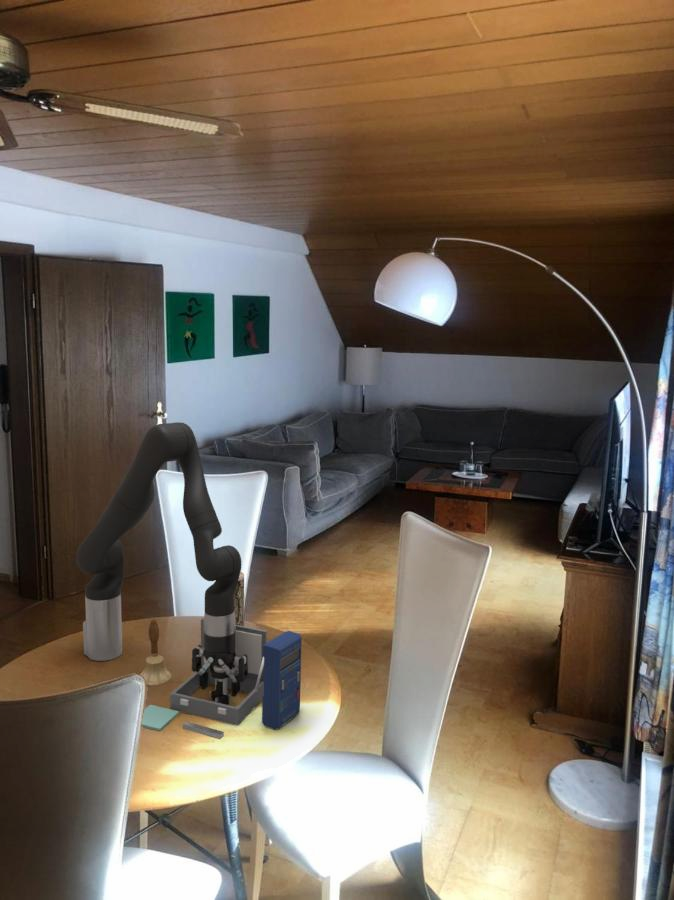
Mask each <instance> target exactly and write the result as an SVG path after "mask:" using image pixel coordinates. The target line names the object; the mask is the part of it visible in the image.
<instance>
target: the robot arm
mask: <svg viewBox="0 0 674 900" xmlns="http://www.w3.org/2000/svg"><path fill="white" fill-rule="evenodd" d="M175 461H177V462H178V464H179V466H180V469H181V471H182V474H183V475H182V476H183V480H184V484H183V485H184V486H183V487H184V488H183V495H182V496H183V499H182V509H183V514H184V517H185V521H186V523H187V526H188V528H189V531H190V534H191V536H192V539H193V549H194V558H195V566H196V569H197V572H198V574H199V575H200V577H202V579H203V580H205V581H207V582H213V583H212V585H210V586H208V587H207V588H206V590H205V592H204V616H203V618H204V648H202V647H201V644H198V645H197V646H195V647H194V648H193V649H192V650H191V671H192V672H193V673H195V672H198V674H199V685H200V687H199V688H200V689H201V690H203V691H205V690H206V689H207V688H208V687H209V684H208V672H207V670H208V669H209V668H210V667H212V669H213V668H214V665H215V666H220V667H223V669H224V671H225V672H226V673H227V675H228V676H230V678H231V680H232V681H233V682H232V689H231V697H236V696H237V695H238V694H239V693H240V692H241V691H240V682H243V681H244V680H245V679H246V678H247V677H248V657H247V655H246V654H244V655H243V656H240V655H236V653H235V629H236V625H235V612H234V594H235V591H236V588H237V584H238V580H239V576H240V572H242V571H241V570H242V558H241V555H240V551H239V550H238V549H237V548H236V547H234V546H232V545H222V546H219V547H217V548H214V540H215V539H216V538H219V536H220V535H221V534H222V531H223V530H222V529H223V528H222V526H221V525H222V524H221V523H220V520H219V518H218V515H217V513H216V510H215V507H214V505H213V502H212V500H211V496H210V494H209V491H208V488H207V483H206V479H205V474H204V469H203V464H202V460H201V456H200V451H199V446H198V443H197V440H196V436H195V434H194V431H193V430H192V427H190V426H189V425H188V424H187V423H185V422H179V421H178V422H168V423H159V424H155V425H153V426H151V427H150V428H149V429H148V430H147V432H146V433H145V435H144V437H143V439H142V441H141V443H140V446H139V448H138V450H137V453H136V455H135V457H134V459H133V462H132V464H131V466H130V467H129V469H128V471H127V473H126V474H125V476H124V477H123V480H121V483H119V486H118V487H117V489H116V490H115V491H114V494H113V496H112V497H111V499H110V501H109V503H108V504H107V506H106V508H105V510H104V511H103V512H102V514H101V515H100V517H99V518H98V520H97V522H96V524H95V526H93V528H92V529H91V530H90V532H89V533H88V534H87V536H86V537H84V539H83V540H82V542H81V543H80V544H79V546H78V547H77V548H78V549H77V551H76V565H77V567H78V569H79V570H80V572H82V573H84V574H86V575H94V576H93V577H92V578H91V579H90V580H89V581H88V582H87V584H85V587H84V598H85V600H84V601H85V620H84V621H83V622H82V633H83V634H82V636H83V637H82V638H83V655H84V656H86V657H87V658H89V660H92V661H98V662H104V661H105V662H106V661H111V660H114V659H116V658H119V657H120V656H121V655H122V653H123V627H122V626H123V625H122V624H123V623H122V596H121V595H122V592H121V591H122V586H123V583H124V576H125V575H124V574H125V573H124V571H125V570H124V569H125V567H124V566H125V551H124V547H123V544H122V541H121V540H120V539H121V538H122V537H124V536H125V535H126V534H128V533H129V531H131V530H132V529H133V528H134V527H136V526H137V525H138V524H139V523H140V522H141V521H142V520H143V518H144V517H145V515H146V514H147V512H148V510H149V509H150V507H151V505H152V504H153V502H154V499H155V486H154V479H155V477H156V475H157V473H158V472H159V470H160V469H161V468H162V467H163V465H165V464H166V463H168V462H175ZM202 655H204V657H205V659H206V660H207V661H206V663H205V664H204V665H203V666H201V656H202ZM235 660H236V661H237V665H238V666H239V671H238V669H237V668H238V667H237V665H236V664H235V662H234V661H235ZM230 666H231V668H232V669H231V670H230V669H229V667H230Z"/></svg>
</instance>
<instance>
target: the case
mask: <svg viewBox="0 0 674 900" xmlns="http://www.w3.org/2000/svg"><path fill="white" fill-rule="evenodd" d="M267 642H268V630H267V629H260V628H255V627H250V626H246V625H244V626H240V625H236V629H235V653H236V655H240V656H243V655H244V654H246V655H247V657H248V677H247V678H246V679H245V680H244V681H243V682H240V692H244V693H248V695H246V697H245V698H244V699H243V700H242V701H241V702H240V703H239V704H238V705H237V706H233V705H231V704H230V705H225V704H221V703H217V702H214V701H213V700H209V699H208V700H207V699H204V698H200V697H194V696H191V695H192V694H193V693H194V692H195V691H197V689H198V688H201V687H200V685H199V674H198V672H196V671H195V672H193V674H192V675H191V676H189V677H188V678H187V679H186V680H185V681H183V682H182V683H181V684H180V685H179V686H178V687H176V688H175V689H174V690H172V692H171V693H170V695H169V697H170V698H169V699H170V705H169V706H170V709H171V710H175V711H179V713H186V714H189V715H192V716H193V715H194V716H197V717H198V716H199V717H201V718H205V719H210V720H213V721H217V722H218V721H219V722H222V723H225V724H226V723H227V724H231V725H233V726H234V725H235V726H239V725H240V724H241V723H242V722H243V721H244V720H245V718H247V716H248V715H249V714H250V713H251V712H252V711H253V710H254V709H255V708H256V707H257V706H258V704H259V703H261V701H262V696H264V657H263V645H264V644H266V643H267ZM200 646H201V647H202V648H204V617H203V618H200ZM206 661H207V660H206V659H205V657H204V655H202V656H201V666H203V665H204V664H205V663H206ZM234 662H235V664H236V665H237V661H236V660H235V661H234ZM237 667H238V668H237V669H238V671H239V666H238V665H237ZM210 668H211V667H210ZM210 668H209V669H208V670H207V672H208V685H212V686H215V678H213V677H212V676H211V672H210ZM232 682H233V681H232V680H231V678H230V677H228V679H227V688H228V690H229V689H230V690H232Z"/></svg>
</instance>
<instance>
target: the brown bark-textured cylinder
mask: <svg viewBox="0 0 674 900" xmlns="http://www.w3.org/2000/svg"><path fill="white" fill-rule="evenodd" d="M234 612H235V625H240V626H245V573H244V572H242V571H241V572H240V576H239V580H238V584H237V588H236V591H235V594H234Z"/></svg>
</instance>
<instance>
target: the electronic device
mask: <svg viewBox="0 0 674 900" xmlns="http://www.w3.org/2000/svg"><path fill="white" fill-rule="evenodd" d="M302 639H303V638H302V635H301V633H297V632H295V631H290V630H287V631H284V632H282V633H280V635H278V636H276V637H274V638H273V639H271V640H269V641H267V643H266V644H264V645H263V657H264V696H262V700H261V701H262V702H261V703H262V704H261V708H262V709H261V723H262V725H263V726H264V727H267V728H269V729H272V730H278V729H280V728H281V727H283V726H284V725H285V724H287V723H288V722H289V721H290V720H292V719H293V718H295V717H296V715H298V714H300V712H301V685H302V684H301V682H302V680H301V679H302V677H301V675H302V642H303V641H302Z"/></svg>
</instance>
